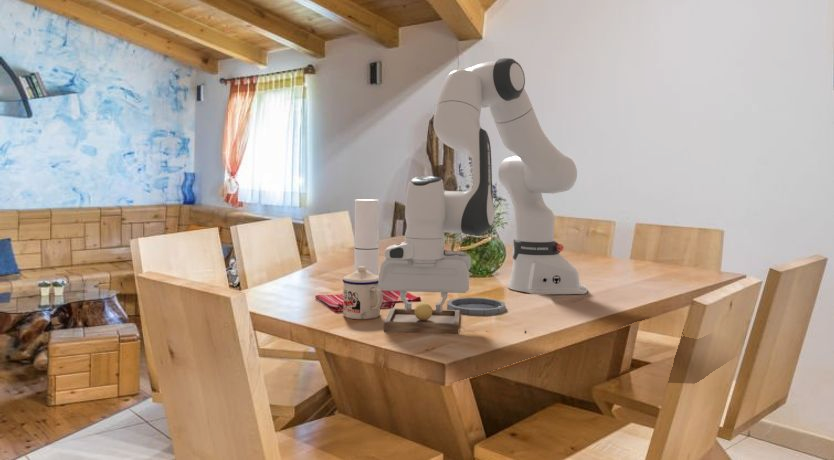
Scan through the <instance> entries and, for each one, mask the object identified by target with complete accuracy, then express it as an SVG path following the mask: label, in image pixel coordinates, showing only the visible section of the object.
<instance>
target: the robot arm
mask: <svg viewBox="0 0 834 460" xmlns="http://www.w3.org/2000/svg"><path fill="white" fill-rule="evenodd" d="M525 85H526V77H525V72H524V70H523V68H522V66H521V64H520V63H519V62H518V61H516V60H515V59H514V58H508V57H506V58H499V59H497V60H490V61H485V62H481V63H478V64H475V65H473V66H469V67H467V68H465V69H463V68H461V69H455V70H452V71H450V73H448V74H447V75H446V77H445V79H444V81H443V82H442V86H441V88H440V90H439V94H438V97H437V100H436V105H435V110H434V114H433V115H434V116H433V123H432V124H433V130H434V131H433V132H434V133H435V135H436V136H437V138H438V140H440V141H441V142H442V143H443V144H444V145H445V146H447V147H448V148H451V149H452V150H456V151H458V152H459V153H463V154H465V155H467V156H468V157H470V158H471V160H472V161H471V162H472V164H471V165H472V169H471V170H472V187H471V189H469V190H467V191H466V190H465V191H464V190H463V191H462V190H461V191H459V190H445V189H444V182H443V181H444V180H443V179H442V178H441V177H439V176H436V175H435V176H433V175H422V176H416V177H413V178H412V179H410V180H409V181H408V184H407V188H406V189H407V190H406V196H405V206H404V208H405V209H404V219H405V223H406V230H405V233H404V241H401V242H398V243H394V244H391V245H389V246H386V248H384V255H383V256H384V259H383V261H382V263H381V264H380V267H379V271H378V276H379V282H378V286H379V288H380V290H382V291H400V296H399V298H400V299H401V300H402V301H403V302H402V303H403V304H404V308H405V311H411V310H412V309H413V307H412V304H413V302H408V300H409V299H408V298H406V297H405V296H406V295H407V292H410V293H411V292H413V293H415V292H416V293H417V292H419V293H440V297H441V300H440V302H436V303H435V309H436V312H442V310H443V305H444V303H446V300H447V299H448V293H451V294H452V293H453V294H458V293H459V294H467V292H468V291H469V290H470V276H469V271H470V269H471V268H472V257H471V255H470V254H469V253H467V252H465V250H451V249H450V250H446V249H445V243H446V242H445V237H446V236H445V233H452V234H453V233H454V234H463V235H467V236H468V235H469V236H476V237H481V236H482V235H484V234H485V233H486V232H487V231H489V230H490V229H491V228H492V226H493V225H494V222H495V221H494V220H495V206H494V199H493V198H494V197H493V181H492V180H493V178H492V177H493V176H492V174H493V173H492V172H493V171H492V170H493V169H492V167H493V166H492V149H491V148H492V147H491V142H490V141H491V140H490V136H489V134H488V132H487V131H486V130H485V129H483V128H482V127H481V123H480V119H481V118H480V117H481V111H482V109H483V108H489V110H490V113H491V116H492V118H493V121H494V123H495V126H496V128H497V131H498V134H499V136H500V139H501V141H502V144H503V145H504V147H505V148H506V149H508V150H509V151H511V152H512V153H514V154H515V155H512V156H511V155H510V156H508V157H505V158H504V159H503V160H502V161H501V163H500V164H499V166H498V179H499V182H500V184H501V186H502V187H503V188H504V189H505V190H506V192H507V193H508V194H509V196H510V199H511V200H510V201H511V202H512V205H513V211H514V222H515V223H514V224H515V225H514V227H515V229H514V239H513V241H512V259H513V262H512V268H511V274H510V279H509V282H508V285H507V288H508V289H510V290H512V291H516V292H523V293H528V294H531V295H584V294H587V292H588V288H587V286H586V285H585V284H582V283H580V276H579V271H578V269H577V268H576V266H575V265H573V264H572V263H571V262H570V261H568V259H566V258H565V257H563V256H562V255H561V252H563V251H564V249H565V246H564V245H563V244H562V243H559V242H556V241H555V240H554V238H555V236H554V235H555V214H554V212H553V211H552V210H551V209H550V207H548V206H547V205H546V203H545V201H544V199H543V195H542V194H559V193H565V192H567V191H570V190H571V189H572V188H573V187H574V185H575V183H576V182H577V177H578V170H577V167H576V164H575V162H574V160H573V159H572V158H570V157H568V156H566V155H565V154H563V153H562V152H561V151H560V150H558V149H557V148H556V146H554V144H553V143H552V142H551V141H550V140H549V138H548V137H547V136H546V134H545V132H544V131H543V129H542V127H541V125H540V122H539V119H538V118H537V115H536V113H535V109H534V107H533V105H532V102H531V99H530V98H529V96H528V93H527V91H526V89H525Z"/></svg>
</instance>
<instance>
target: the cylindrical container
mask: <svg viewBox="0 0 834 460" xmlns="http://www.w3.org/2000/svg"><path fill="white" fill-rule="evenodd" d="M379 231H380V199H375V198H374V199H373V198H370V199H366V198H363V199H362V198H361V199H354V237H353V238H354V242H353V243H354V244H353V245H354V249H353V250H354V251H353V252H354V254H353V255H354V256H353V257H354V258H353V259H354V263H353V264H354V267H353V272H354V271H358V267H359V266H365V267H366V271H369V272H371V273H373V274H374V275H377V276H379V250H380V247H379V246H380V245H379V241H380V240H379V238H380V237H379V236H380V235H379V234H380V233H379Z"/></svg>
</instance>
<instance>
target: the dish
mask: <svg viewBox="0 0 834 460" xmlns="http://www.w3.org/2000/svg"><path fill="white" fill-rule="evenodd" d="M506 307H507V306H506V303H505V302H504V301H501V300H498V299H493V298H489V297H488V298H487V297H469V296H467V297H457V298H456V297H455V298H453V299H449V300H447V304H446V310H459V315H460V314H462V315H469V316H491V315H498V314H502V313H504V312H505V311H506Z"/></svg>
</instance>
